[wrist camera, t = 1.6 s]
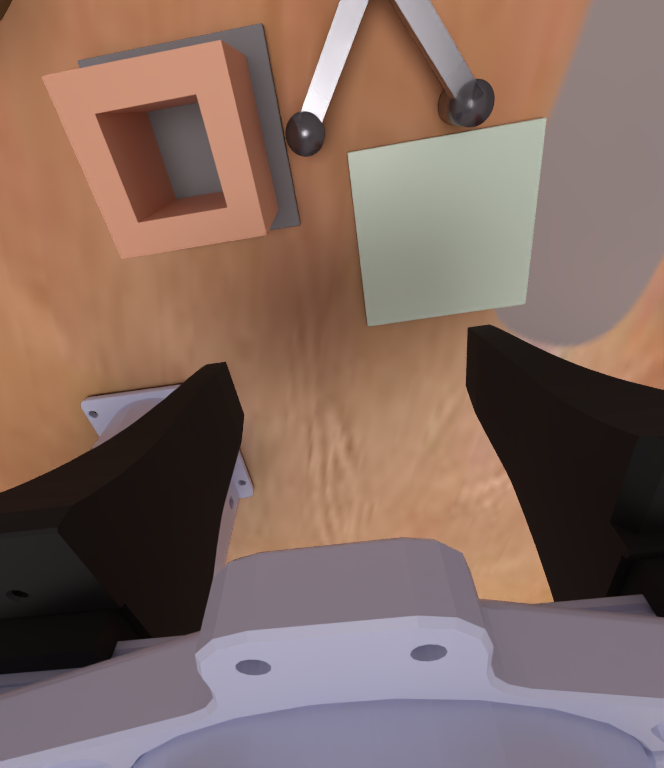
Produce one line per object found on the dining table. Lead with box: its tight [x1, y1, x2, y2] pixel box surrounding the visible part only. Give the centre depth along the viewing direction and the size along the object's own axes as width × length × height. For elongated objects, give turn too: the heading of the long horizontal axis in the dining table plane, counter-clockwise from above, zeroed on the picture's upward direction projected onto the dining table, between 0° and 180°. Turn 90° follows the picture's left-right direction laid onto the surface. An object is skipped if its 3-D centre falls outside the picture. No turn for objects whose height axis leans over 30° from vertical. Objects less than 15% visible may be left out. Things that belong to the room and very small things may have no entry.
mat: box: [78, 23, 300, 230], centre depth 17 cm, size 7×7×1 cm
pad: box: [347, 118, 546, 327], centre depth 19 cm, size 8×8×1 cm
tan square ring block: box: [41, 40, 279, 259], centre depth 15 cm, size 5×5×4 cm
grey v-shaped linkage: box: [286, 0, 494, 156], centre depth 14 cm, size 6×7×2 cm
